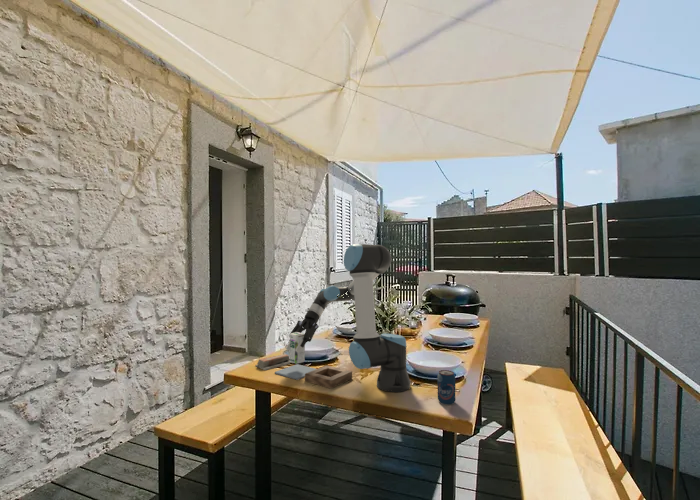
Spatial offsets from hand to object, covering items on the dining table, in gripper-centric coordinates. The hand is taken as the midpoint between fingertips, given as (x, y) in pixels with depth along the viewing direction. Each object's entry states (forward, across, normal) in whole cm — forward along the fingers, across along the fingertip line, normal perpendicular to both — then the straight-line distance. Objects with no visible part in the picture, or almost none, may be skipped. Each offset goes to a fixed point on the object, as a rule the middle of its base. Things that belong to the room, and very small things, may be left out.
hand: (292, 350), depth 175 cm
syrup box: (+2, 0, -7) cm, 8 cm away
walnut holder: (+5, -20, -11) cm, 24 cm away
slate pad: (+6, 0, -10) cm, 12 cm away
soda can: (-1, -76, -17) cm, 77 cm away
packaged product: (+5, +19, -12) cm, 23 cm away
